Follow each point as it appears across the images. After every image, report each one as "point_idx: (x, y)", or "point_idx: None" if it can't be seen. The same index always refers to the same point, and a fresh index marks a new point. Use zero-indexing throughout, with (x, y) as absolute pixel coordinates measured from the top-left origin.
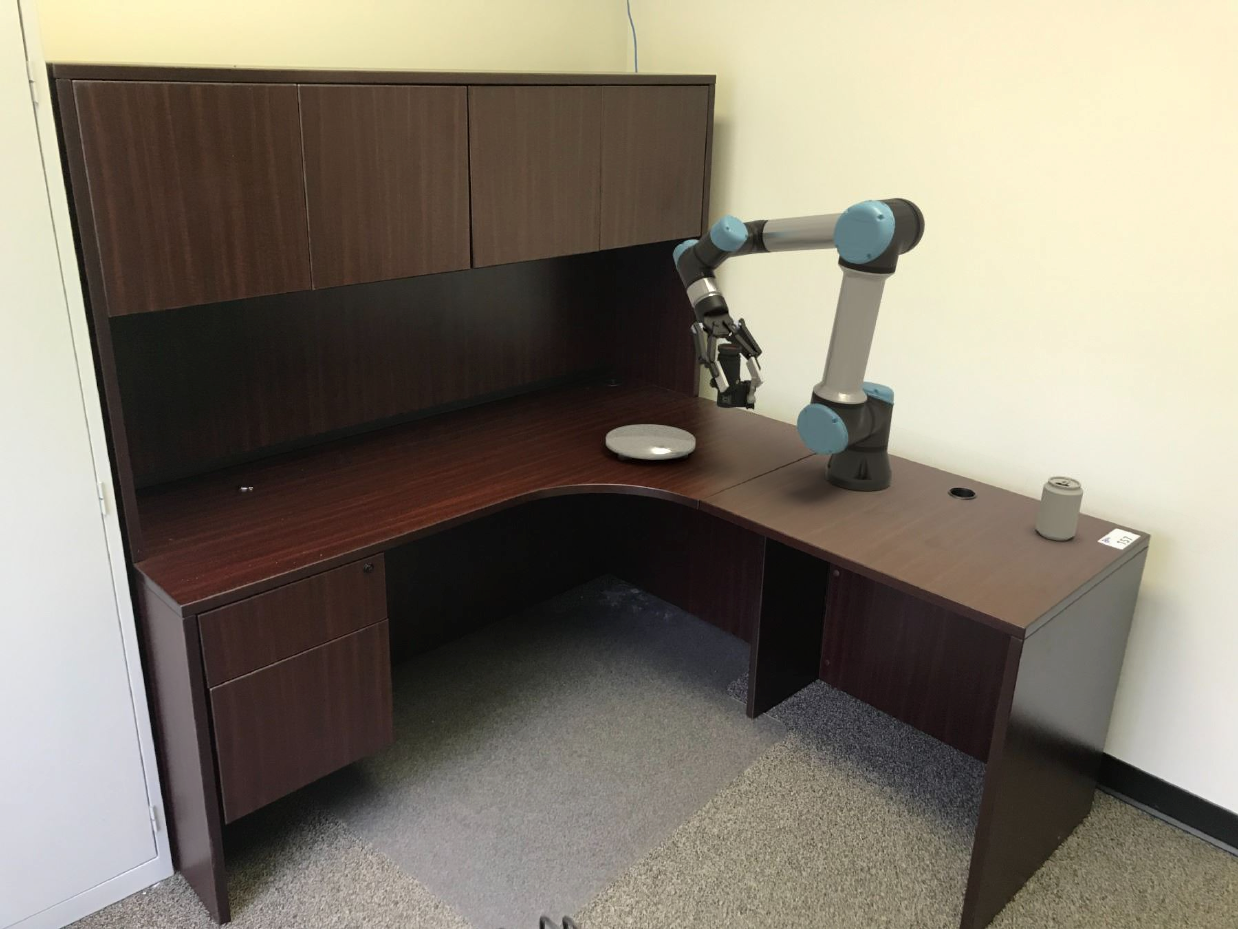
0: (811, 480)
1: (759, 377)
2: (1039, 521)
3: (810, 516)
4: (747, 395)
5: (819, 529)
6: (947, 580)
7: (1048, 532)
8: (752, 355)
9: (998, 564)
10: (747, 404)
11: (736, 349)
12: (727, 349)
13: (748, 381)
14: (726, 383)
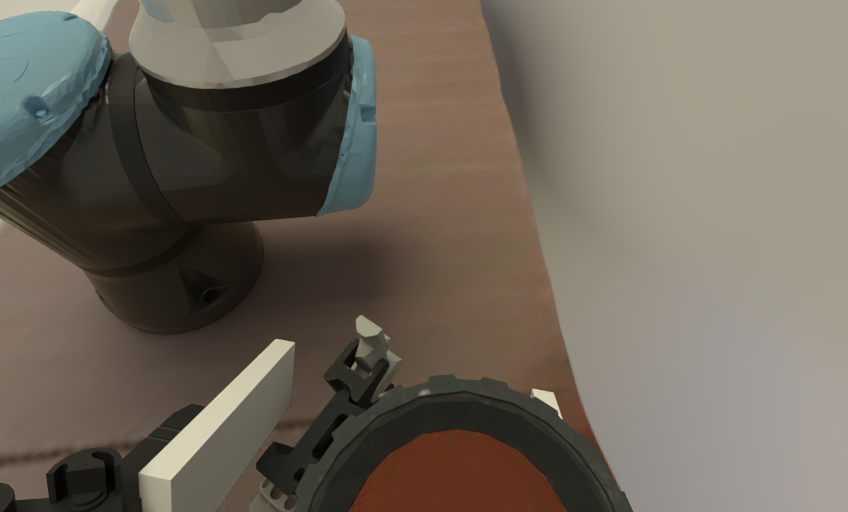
0: (269, 319)
1: (281, 358)
2: None
3: (436, 204)
4: (374, 395)
5: (466, 167)
6: (446, 23)
7: None
8: (122, 500)
9: (357, 13)
10: (387, 389)
11: (487, 380)
12: (595, 451)
13: (293, 452)
14: (545, 402)
